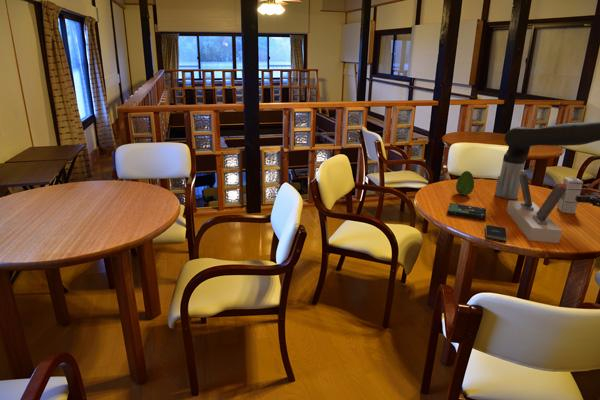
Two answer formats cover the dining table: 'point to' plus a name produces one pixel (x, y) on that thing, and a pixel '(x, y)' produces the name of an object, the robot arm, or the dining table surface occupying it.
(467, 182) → the avocado
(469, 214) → the disk drive
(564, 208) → the syrup box
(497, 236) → the external hard drive
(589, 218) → the dining table surface
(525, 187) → the inner lever
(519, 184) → the robot arm
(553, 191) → the outer lever
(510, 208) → the box
